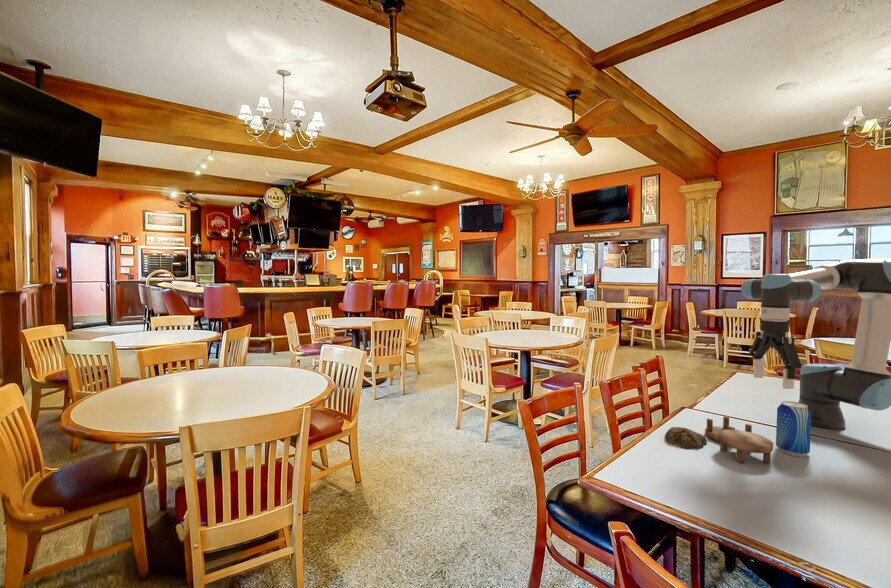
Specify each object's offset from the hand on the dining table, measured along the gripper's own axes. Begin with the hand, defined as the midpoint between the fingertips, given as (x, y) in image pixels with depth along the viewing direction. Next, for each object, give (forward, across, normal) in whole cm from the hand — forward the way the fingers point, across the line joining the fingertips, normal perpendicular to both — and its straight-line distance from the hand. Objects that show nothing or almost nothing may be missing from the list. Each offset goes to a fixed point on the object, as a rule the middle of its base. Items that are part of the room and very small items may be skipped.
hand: (772, 382), depth 134 cm
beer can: (+22, +4, +4) cm, 23 cm away
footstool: (+22, +8, -14) cm, 27 cm away
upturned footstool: (+22, -6, -10) cm, 25 cm away
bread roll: (+22, -2, -27) cm, 35 cm away
